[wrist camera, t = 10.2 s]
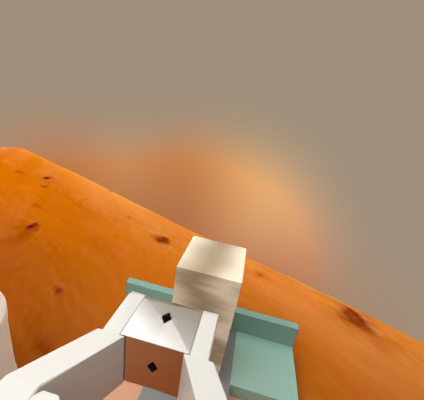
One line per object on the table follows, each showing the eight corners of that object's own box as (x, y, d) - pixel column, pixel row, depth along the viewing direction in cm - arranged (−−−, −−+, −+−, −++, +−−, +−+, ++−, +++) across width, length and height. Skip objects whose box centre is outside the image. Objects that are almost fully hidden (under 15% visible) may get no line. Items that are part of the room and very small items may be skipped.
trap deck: (287, 351, 34) (298, 323, 32) (320, 706, 14) (354, 685, 12) (128, 305, 37) (129, 277, 35) (-38, 544, 17) (-55, 507, 15)
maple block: (225, 335, 33) (246, 248, 28) (217, 381, 27) (241, 283, 22) (180, 322, 33) (193, 235, 29) (163, 364, 28) (176, 266, 23)
